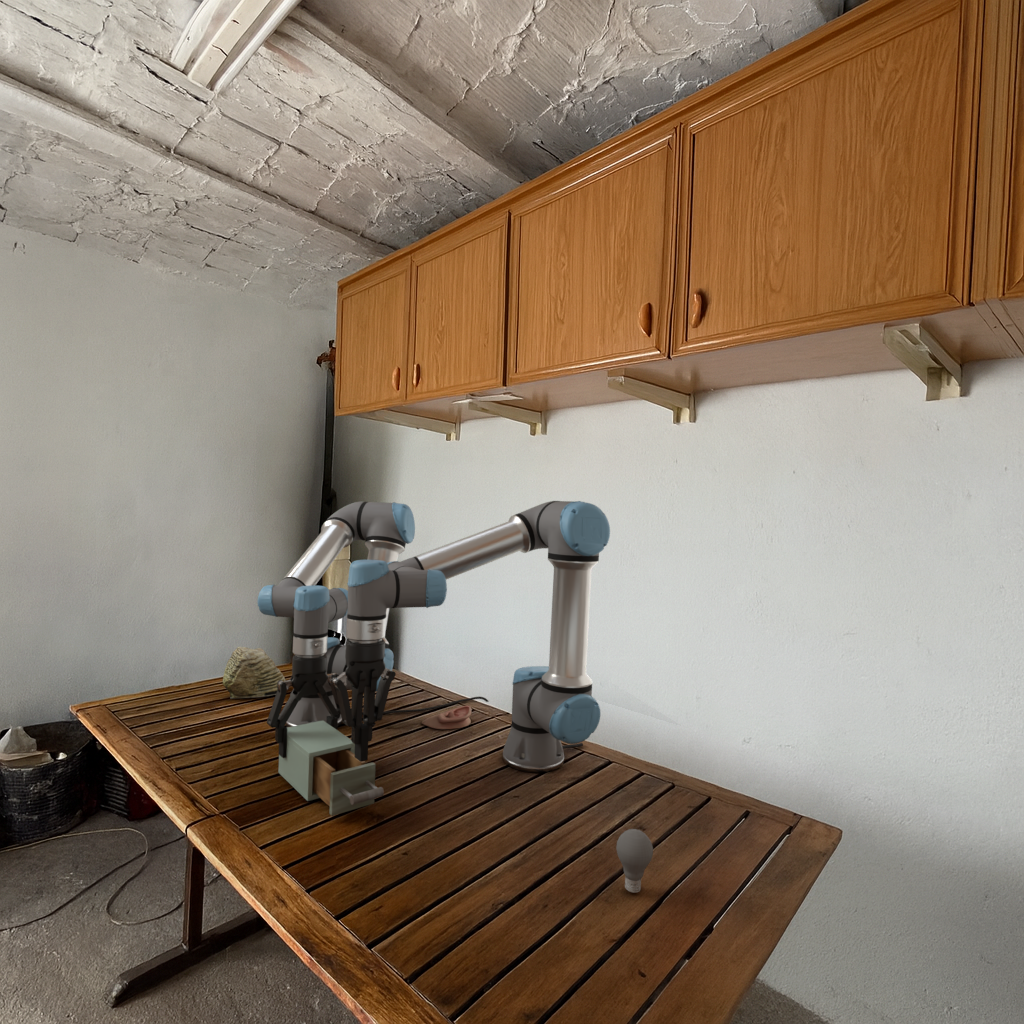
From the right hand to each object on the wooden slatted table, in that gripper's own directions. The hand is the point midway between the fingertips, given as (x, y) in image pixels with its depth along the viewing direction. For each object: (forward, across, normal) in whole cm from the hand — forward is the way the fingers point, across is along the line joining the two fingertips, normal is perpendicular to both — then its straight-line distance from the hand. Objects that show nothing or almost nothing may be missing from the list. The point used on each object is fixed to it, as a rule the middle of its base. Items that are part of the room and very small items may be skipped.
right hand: (360, 758), depth 124 cm
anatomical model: (+12, +45, +35) cm, 58 cm away
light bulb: (+12, +26, -47) cm, 55 cm away
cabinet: (+12, 0, +21) cm, 25 cm away
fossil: (+12, +8, +89) cm, 90 cm away
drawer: (+11, 0, +7) cm, 13 cm away
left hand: (+7, 0, +27) cm, 28 cm away
